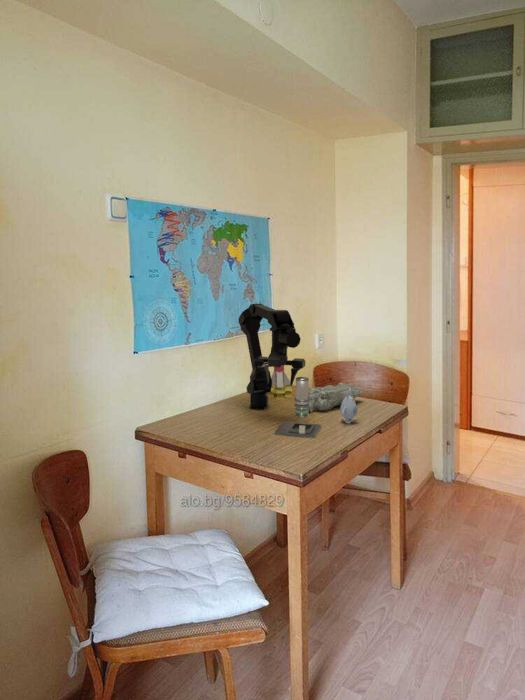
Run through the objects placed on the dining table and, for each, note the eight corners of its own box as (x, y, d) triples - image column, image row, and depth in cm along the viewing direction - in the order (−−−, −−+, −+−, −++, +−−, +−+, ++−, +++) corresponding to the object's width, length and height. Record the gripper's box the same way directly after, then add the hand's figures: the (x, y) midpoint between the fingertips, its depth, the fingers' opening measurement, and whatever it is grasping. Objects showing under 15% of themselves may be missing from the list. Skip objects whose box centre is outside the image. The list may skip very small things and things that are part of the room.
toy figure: (349, 427, 191) (350, 395, 189) (334, 424, 194) (334, 392, 192) (362, 420, 199) (363, 389, 197) (347, 417, 203) (348, 387, 201)
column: (292, 416, 183) (293, 379, 181) (296, 412, 188) (296, 376, 186) (307, 418, 181) (308, 380, 179) (310, 413, 186) (311, 377, 184)
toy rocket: (290, 392, 241) (291, 326, 236) (294, 399, 230) (294, 330, 224) (264, 392, 241) (264, 327, 236) (266, 399, 229) (266, 330, 224)
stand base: (274, 434, 184) (274, 424, 183) (283, 423, 195) (283, 414, 195) (314, 438, 180) (314, 428, 179) (321, 427, 191) (321, 417, 191)
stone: (371, 377, 218) (313, 397, 203) (372, 400, 221) (315, 422, 206) (350, 370, 228) (294, 389, 213) (351, 393, 231) (296, 413, 216)
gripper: (248, 346, 193) (249, 388, 195) (298, 348, 187) (298, 391, 190) (258, 341, 203) (258, 381, 206) (305, 343, 198) (305, 384, 200)
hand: (279, 384), depth 200 cm, fingers open, 9 cm apart
